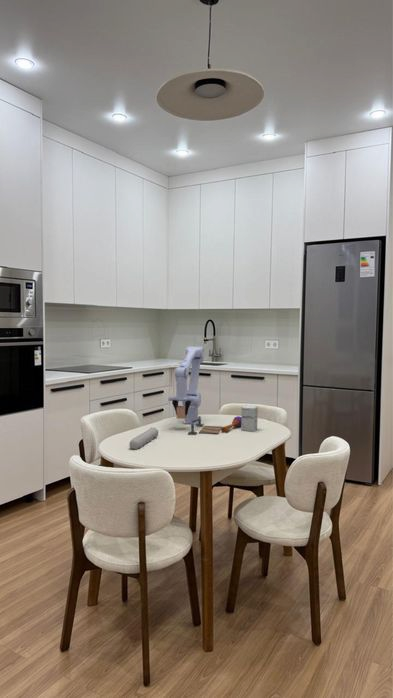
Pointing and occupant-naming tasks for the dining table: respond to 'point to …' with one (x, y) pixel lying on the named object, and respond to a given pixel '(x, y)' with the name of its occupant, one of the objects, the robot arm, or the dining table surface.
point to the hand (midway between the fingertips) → (181, 414)
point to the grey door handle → (195, 425)
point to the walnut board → (210, 430)
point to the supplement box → (249, 418)
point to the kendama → (235, 423)
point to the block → (181, 412)
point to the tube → (143, 438)
